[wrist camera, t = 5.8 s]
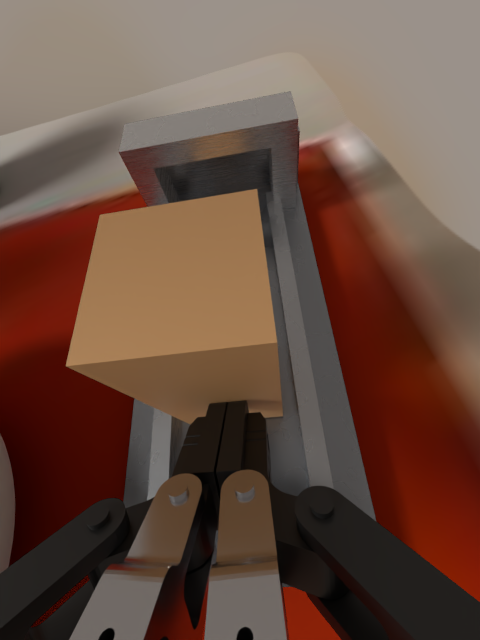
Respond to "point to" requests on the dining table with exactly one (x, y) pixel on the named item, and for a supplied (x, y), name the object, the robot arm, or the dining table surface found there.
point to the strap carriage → (181, 307)
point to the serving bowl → (6, 507)
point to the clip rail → (285, 285)
